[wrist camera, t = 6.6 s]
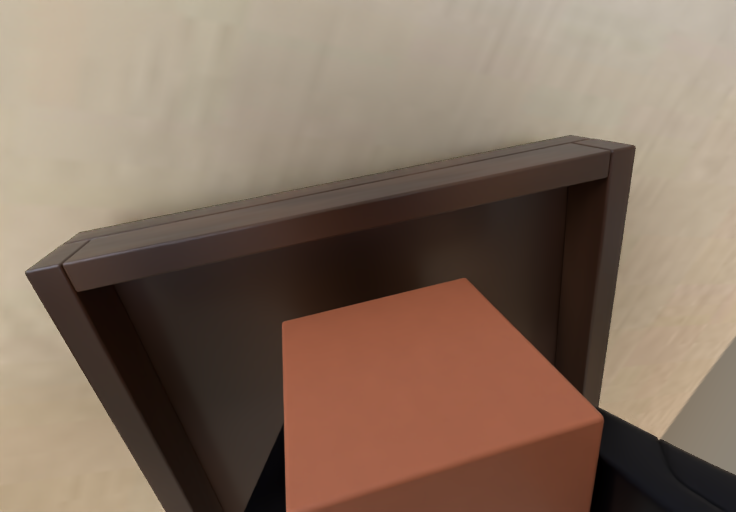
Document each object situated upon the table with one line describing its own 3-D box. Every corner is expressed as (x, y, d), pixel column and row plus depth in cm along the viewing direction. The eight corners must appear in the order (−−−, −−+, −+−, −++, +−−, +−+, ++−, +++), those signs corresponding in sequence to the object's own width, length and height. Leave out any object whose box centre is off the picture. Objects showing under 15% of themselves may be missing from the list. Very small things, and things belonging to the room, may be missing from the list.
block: (320, 455, 11) (346, 676, 7) (280, 321, 9) (284, 517, 5) (471, 410, 11) (579, 589, 7) (465, 276, 9) (607, 416, 5)
